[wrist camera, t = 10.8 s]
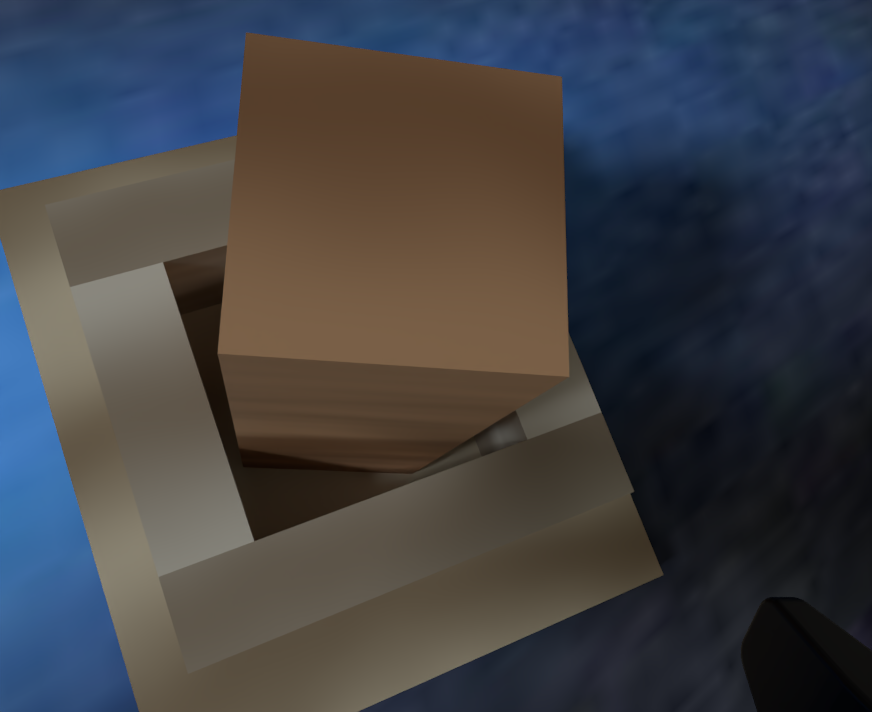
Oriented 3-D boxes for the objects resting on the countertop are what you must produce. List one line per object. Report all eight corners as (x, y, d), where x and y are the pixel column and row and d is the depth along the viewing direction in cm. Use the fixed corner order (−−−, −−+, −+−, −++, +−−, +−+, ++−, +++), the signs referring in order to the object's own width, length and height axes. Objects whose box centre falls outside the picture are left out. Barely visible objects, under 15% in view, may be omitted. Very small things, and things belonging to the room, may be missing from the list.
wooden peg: (412, 473, 22) (569, 376, 11) (243, 467, 21) (217, 354, 10) (416, 316, 23) (561, 76, 12) (255, 304, 22) (246, 32, 11)
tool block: (647, 574, 24) (743, 576, 19) (169, 786, 20) (138, 856, 15) (454, 101, 26) (495, -1, 22) (-1, 208, 23) (-72, 113, 18)
